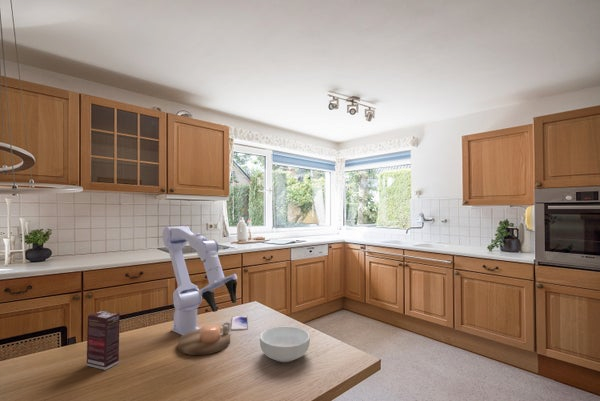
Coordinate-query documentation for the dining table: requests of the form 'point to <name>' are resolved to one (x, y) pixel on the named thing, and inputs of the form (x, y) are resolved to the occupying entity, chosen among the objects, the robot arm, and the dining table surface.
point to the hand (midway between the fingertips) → (224, 306)
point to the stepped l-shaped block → (227, 324)
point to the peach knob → (209, 334)
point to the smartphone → (239, 323)
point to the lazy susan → (194, 347)
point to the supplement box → (103, 339)
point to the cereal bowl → (284, 343)
